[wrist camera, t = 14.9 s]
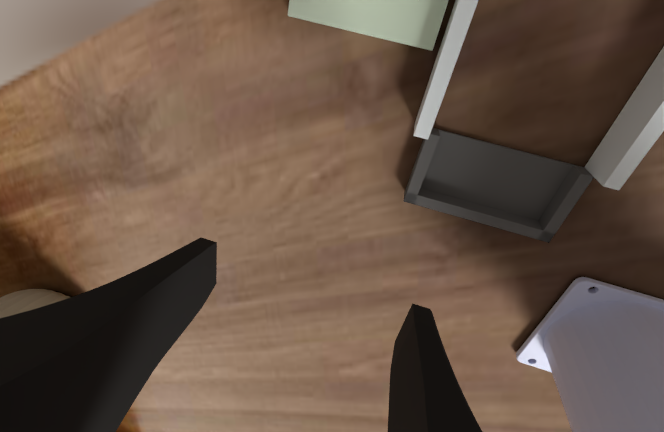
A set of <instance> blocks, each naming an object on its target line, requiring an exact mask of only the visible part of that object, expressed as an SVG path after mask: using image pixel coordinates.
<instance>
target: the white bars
mask: <svg viewBox="0 0 664 432" xmlns="http://www.w3.org/2000/svg"><path fill="white" fill-rule="evenodd" d="M477 3H478V0H455V3H454V6H453V9H452V12H451V15H450V18H449V21H448V24H447V27H446V30H445V33H444V36H443V39H442V42H441V45H440V48H439V51H438V54H437V57H436V60H435V63H434V66H433V69H432V72H431V75H430V78H429V82H428V85H427V88H426V91H425V94H424V97H423V100H422V103H421V106H420V109H419V112H418V115H417V118H416V121H415V126H414V135H413V136H416V137H419V138H423V139H427V140H428V138H429V136H430V133H431V130H432V127H433V125H434V122H435V119H436V116H437V114H438V111H439V108H440V105H441V102H442V100H443V97H444V94H445V91H446V89H447V86H448V83H449V80H450V78H451V75H452V72H453V69H454V67H455V64H456V61H457V58H458V56H459V53H460V50H461V47H462V44H463V42H464V39H465V36H466V33H467V31H468V28H469V25H470V22H471V20H472V17H473V14H474V11H475V9H476V6H477ZM663 131H664V47H663V48H662V50H661V51H660V53H659V54H658V56H657V57H656V59H655V60H654V62H653V63H652V65H651V66H650V68H649V69H648V71H647V72H646V74H645V76H644V77H643V79H642V80H641V82H640V83H639V85H638V86H637V88H636V89H635V91H634V92H633V94H632V95H631V97H630V98H629V100H628V101H627V103H626V105H625V106H624V108H623V109H622V111H621V112H620V114H619V115H618V117H617V118H616V120H615V121H614V123H613V124H612V126H611V127H610V129H609V130H608V132H607V134H606V135H605V137H604V138H603V140H602V141H601V143H600V144H599V146H598V147H597V149H596V150H595V152H594V153H593V155H592V156H591V158H590V159H589V161H588V162H587V164H586V166H585V167H584V168H585V169H586V170H587V171H588V172H589V173H590V174H591V175H592V176H593V177H594V178H595V179H596V180H597V181H598V182H599V183H600V184H601V185H602V186H604V187H607V188H611V189H615V190H620V189H621V187H622V186H623V185H624V183H625V182H626V181H627V179H628V178H629V177H630V175H631V174H632V172H633V171H634V170H635V168H636V167H637V166H638V164H639V163H640V162H641V160H642V159H643V158H644V156H645V155H646V154H647V152H648V151H649V150H650V148H651V147H652V146H653V144H654V143H655V142H656V140H657V139H658V138H659V136H660V135H661V134H662V132H663Z"/></svg>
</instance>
